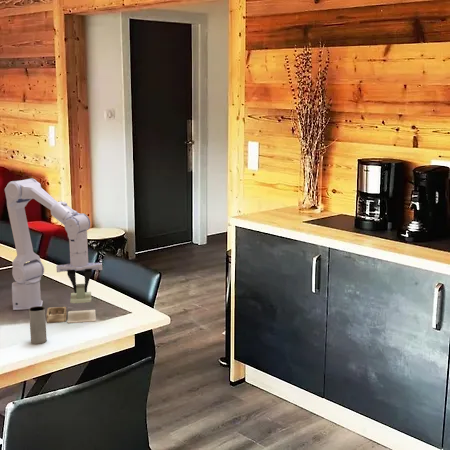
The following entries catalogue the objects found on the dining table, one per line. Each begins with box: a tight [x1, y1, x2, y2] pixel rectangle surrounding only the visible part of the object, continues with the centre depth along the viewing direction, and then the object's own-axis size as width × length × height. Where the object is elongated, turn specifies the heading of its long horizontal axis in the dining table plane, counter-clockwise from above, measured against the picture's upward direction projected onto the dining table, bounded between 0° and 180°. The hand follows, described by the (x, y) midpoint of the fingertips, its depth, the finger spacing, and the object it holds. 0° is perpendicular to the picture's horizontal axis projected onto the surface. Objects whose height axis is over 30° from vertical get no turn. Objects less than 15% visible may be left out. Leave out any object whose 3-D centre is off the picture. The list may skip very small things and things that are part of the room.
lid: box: [69, 283, 92, 304], centre depth 221 cm, size 7×9×5 cm
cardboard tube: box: [28, 305, 48, 345], centre depth 200 cm, size 4×4×10 cm
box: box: [45, 306, 68, 324], centre depth 221 cm, size 6×8×2 cm
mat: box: [66, 309, 97, 324], centre depth 222 cm, size 9×11×1 cm
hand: (80, 291), depth 221 cm, fingers closed on lid, 3 cm apart
